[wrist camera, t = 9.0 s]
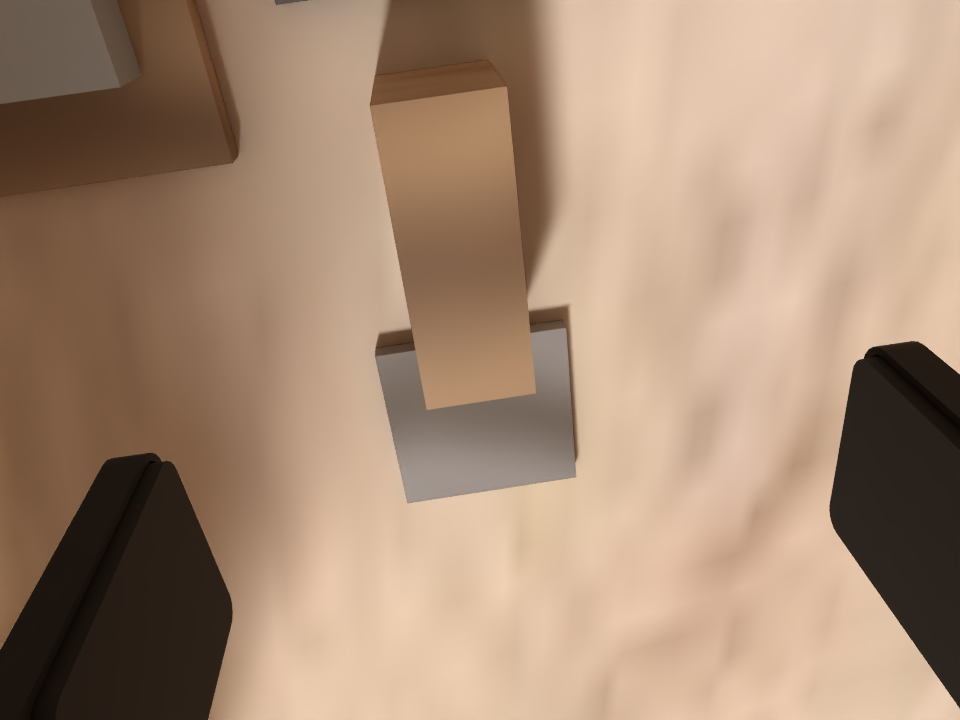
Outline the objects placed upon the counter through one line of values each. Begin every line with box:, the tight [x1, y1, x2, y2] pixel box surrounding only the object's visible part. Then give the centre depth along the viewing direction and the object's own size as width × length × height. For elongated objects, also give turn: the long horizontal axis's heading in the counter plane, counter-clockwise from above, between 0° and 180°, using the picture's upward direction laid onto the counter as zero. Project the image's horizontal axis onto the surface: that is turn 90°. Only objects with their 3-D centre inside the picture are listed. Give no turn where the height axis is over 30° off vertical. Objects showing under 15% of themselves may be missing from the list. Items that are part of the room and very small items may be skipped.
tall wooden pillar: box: [370, 60, 576, 503], centre depth 21 cm, size 14×6×4 cm, turn 7°
